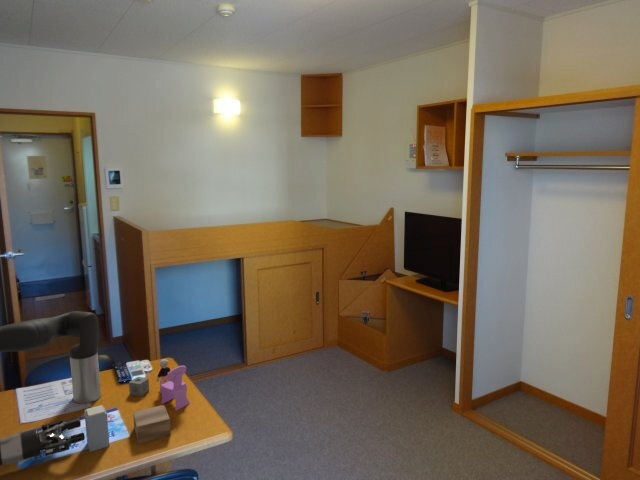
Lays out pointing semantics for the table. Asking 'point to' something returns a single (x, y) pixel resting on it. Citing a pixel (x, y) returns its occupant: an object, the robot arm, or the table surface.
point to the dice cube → (139, 386)
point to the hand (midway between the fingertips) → (82, 429)
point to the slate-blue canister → (96, 428)
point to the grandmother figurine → (163, 372)
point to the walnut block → (151, 423)
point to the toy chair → (175, 388)
